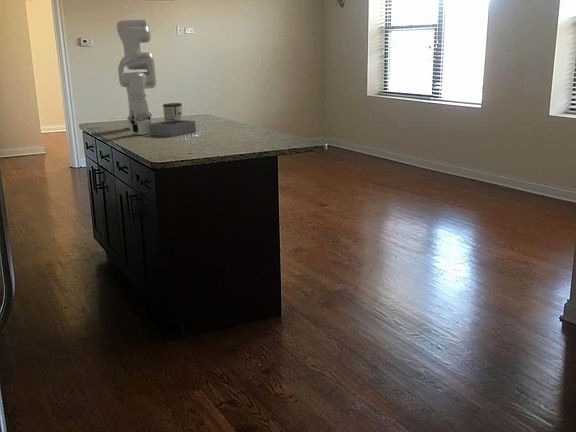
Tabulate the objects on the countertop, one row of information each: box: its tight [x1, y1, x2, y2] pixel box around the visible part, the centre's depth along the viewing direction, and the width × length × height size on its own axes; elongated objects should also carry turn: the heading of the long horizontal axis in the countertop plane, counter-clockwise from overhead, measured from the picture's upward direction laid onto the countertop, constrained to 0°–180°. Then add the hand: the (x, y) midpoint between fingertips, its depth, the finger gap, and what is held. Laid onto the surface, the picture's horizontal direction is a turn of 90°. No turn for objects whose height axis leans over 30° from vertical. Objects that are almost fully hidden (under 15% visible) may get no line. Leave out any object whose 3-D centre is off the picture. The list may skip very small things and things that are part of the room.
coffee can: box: [162, 102, 184, 121], centre depth 356 cm, size 10×10×14 cm
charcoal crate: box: [149, 119, 197, 137], centre depth 338 cm, size 16×18×6 cm
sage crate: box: [129, 119, 152, 136], centre depth 340 cm, size 9×7×7 cm
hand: (141, 130), depth 341 cm, fingers closed on sage crate, 7 cm apart
